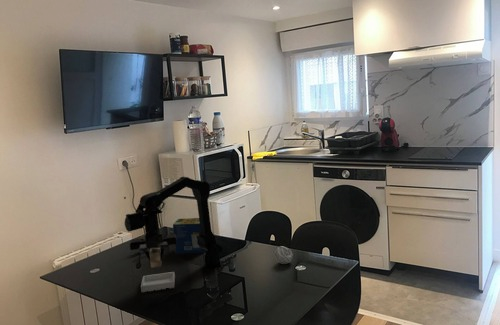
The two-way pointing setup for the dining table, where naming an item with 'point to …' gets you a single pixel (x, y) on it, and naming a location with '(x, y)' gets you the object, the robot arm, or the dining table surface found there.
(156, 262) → the brown block
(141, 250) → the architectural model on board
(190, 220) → the protein box
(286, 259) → the grey streaked ball
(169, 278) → the housing tray
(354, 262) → the dining table surface
